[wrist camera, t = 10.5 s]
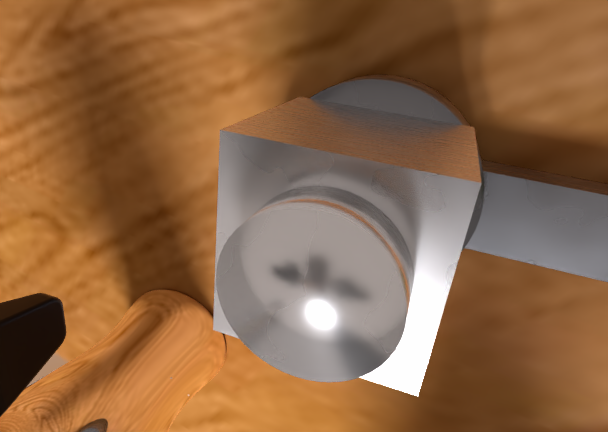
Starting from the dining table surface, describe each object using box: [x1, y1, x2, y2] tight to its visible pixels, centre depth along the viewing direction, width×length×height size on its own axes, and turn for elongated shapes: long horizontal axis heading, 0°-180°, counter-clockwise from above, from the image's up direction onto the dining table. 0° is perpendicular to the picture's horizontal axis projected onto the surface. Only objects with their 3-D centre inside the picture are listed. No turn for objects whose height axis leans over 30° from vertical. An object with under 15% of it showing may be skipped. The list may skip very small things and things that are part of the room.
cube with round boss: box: [213, 97, 481, 396], centre depth 13 cm, size 6×6×8 cm
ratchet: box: [311, 74, 608, 282], centre depth 14 cm, size 18×8×6 cm, turn 83°
